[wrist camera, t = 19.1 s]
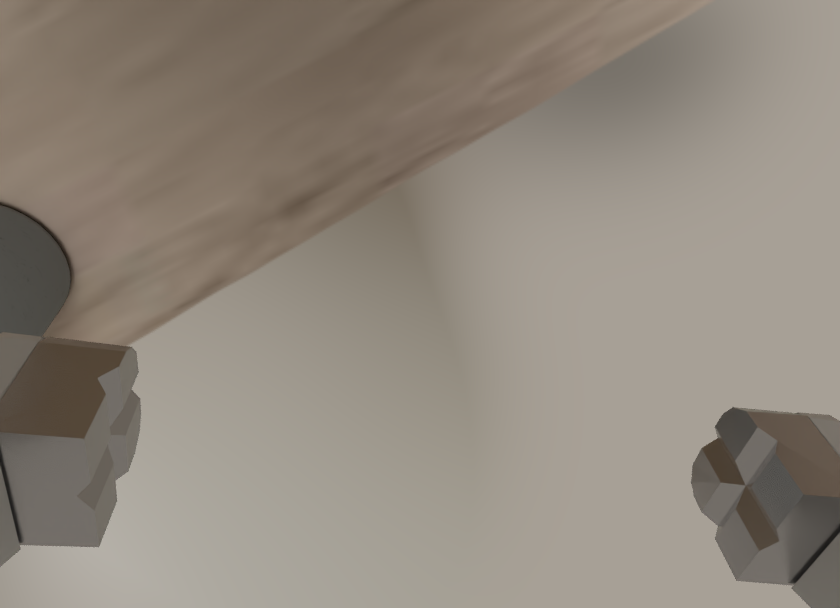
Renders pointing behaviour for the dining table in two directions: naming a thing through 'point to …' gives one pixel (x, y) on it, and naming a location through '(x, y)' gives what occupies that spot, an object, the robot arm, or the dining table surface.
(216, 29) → the dining table surface
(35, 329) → the water bottle
